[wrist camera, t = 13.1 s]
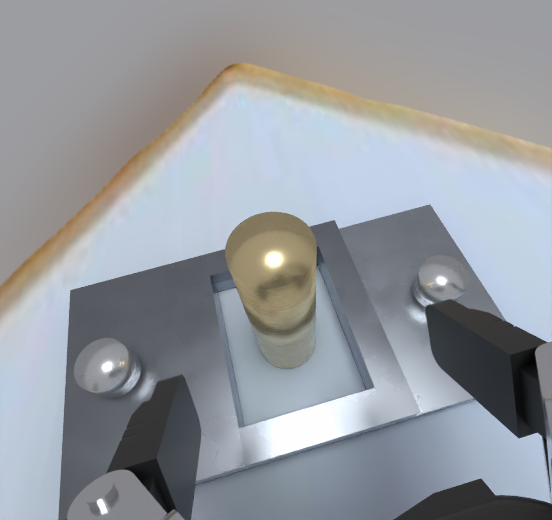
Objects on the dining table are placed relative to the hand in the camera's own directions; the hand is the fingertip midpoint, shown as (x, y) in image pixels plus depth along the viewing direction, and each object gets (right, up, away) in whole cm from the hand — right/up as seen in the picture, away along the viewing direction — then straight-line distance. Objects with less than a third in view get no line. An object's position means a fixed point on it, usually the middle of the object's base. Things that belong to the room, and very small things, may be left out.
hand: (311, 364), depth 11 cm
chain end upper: (-4, -3, +12) cm, 13 cm away
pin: (0, -2, +12) cm, 12 cm away
